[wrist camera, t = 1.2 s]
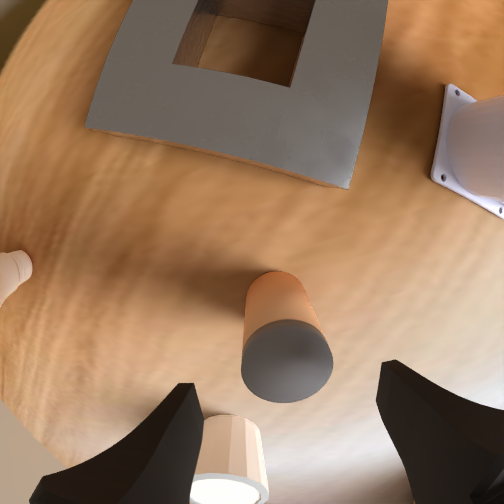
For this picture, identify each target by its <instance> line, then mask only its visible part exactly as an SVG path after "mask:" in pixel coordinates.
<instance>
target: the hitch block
mask: <svg viewBox="0 0 504 504" xmlns="http://www.w3.org/2000/svg"><path fill="white" fill-rule="evenodd" d="M387 5H388V0H133V1H132V3H131V5H130V7H129V9H128V11H127V13H126V15H125V17H124V19H123V21H122V24H121V26H120V28H119V30H118V32H117V35H116V37H115V39H114V42H113V44H112V46H111V49H110V51H109V54H108V56H107V59H106V61H105V64H104V67H103V69H102V72H101V75H100V78H99V81H98V83H97V86H96V89H95V92H94V96H93V99H92V102H91V105H90V109H89V112H88V115H87V119H86V123H85V126H84V128H88V129H92V130H96V131H100V132H104V133H107V134H111V135H115V136H118V137H124V138H130V139H136V140H142V141H147V142H152V143H158V144H163V145H168V146H173V147H177V148H182V149H187V150H191V151H196V152H200V153H205V154H209V155H213V156H218V157H222V158H226V159H230V160H234V161H238V162H242V163H246V164H249V165H253V166H257V167H261V168H264V169H268V170H272V171H275V172H279V173H282V174H286V175H289V176H292V177H296V178H299V179H302V180H306V181H309V182H312V183H315V184H319V185H322V186H325V187H330V188H339V189H347V190H348V189H349V185H350V181H351V178H352V174H353V171H354V167H355V163H356V159H357V155H358V151H359V148H360V144H361V140H362V135H363V131H364V127H365V123H366V119H367V114H368V110H369V105H370V101H371V96H372V92H373V87H374V82H375V77H376V72H377V67H378V61H379V56H380V50H381V44H382V38H383V32H384V26H385V19H386V12H387ZM217 15H219V16H226V17H232V18H238V19H244V20H249V21H254V22H259V23H264V24H269V25H273V26H277V27H281V28H285V29H289V30H293V31H297V32H300V33H304V34H303V38H302V41H301V45H300V48H299V52H298V55H297V58H296V62H295V65H294V69H293V72H292V76H291V79H290V83H289V86H288V87H285V86H281V85H278V84H274V83H270V82H266V81H262V80H258V79H254V78H249V77H245V76H240V75H236V74H231V73H226V72H220V71H215V70H209V69H203V68H197V66H198V63H199V60H200V58H201V55H202V52H203V49H204V47H205V44H206V41H207V39H208V36H209V34H210V31H211V29H212V26H213V24H214V21H215V19H216V16H217Z"/></svg>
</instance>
